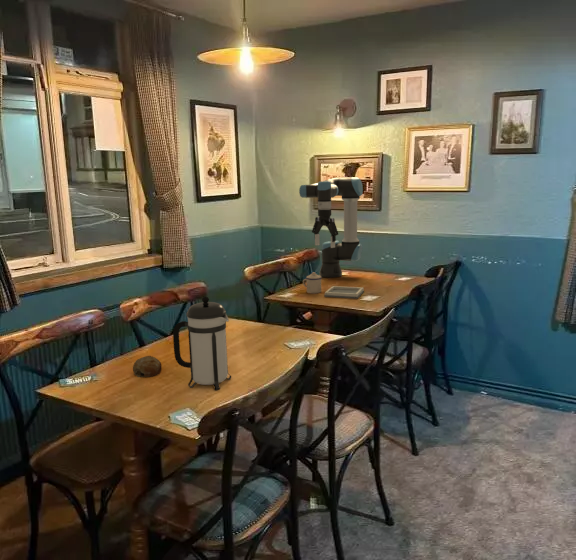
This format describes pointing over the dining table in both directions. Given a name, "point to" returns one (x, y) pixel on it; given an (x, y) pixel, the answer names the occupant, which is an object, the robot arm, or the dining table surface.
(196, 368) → the coffee press
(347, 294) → the grey shallow tray
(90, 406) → the dining table surface
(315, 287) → the teacup with lid
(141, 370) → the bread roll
